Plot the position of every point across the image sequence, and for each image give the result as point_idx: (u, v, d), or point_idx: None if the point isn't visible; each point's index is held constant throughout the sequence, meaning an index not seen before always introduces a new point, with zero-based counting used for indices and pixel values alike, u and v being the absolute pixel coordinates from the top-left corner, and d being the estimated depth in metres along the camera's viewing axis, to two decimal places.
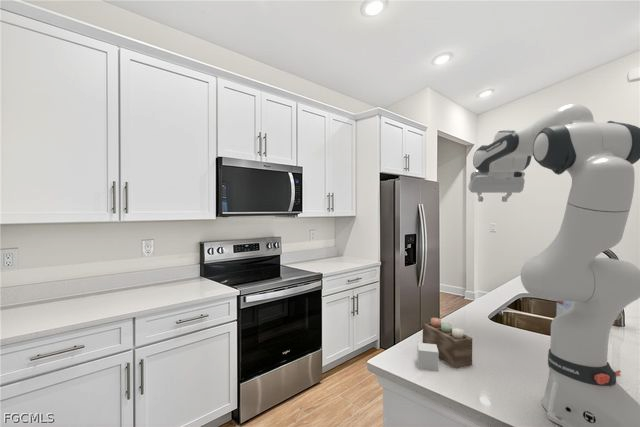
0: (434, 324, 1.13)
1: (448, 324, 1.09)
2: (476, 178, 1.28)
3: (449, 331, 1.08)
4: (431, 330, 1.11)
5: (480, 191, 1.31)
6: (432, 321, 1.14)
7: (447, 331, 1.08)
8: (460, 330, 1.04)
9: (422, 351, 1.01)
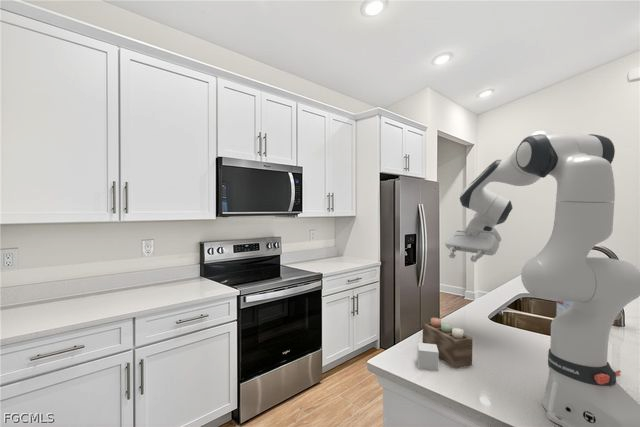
0: (434, 324, 1.13)
1: (448, 324, 1.09)
2: (453, 232, 1.33)
3: (449, 331, 1.08)
4: (431, 330, 1.11)
5: (452, 243, 1.28)
6: (432, 321, 1.14)
7: (447, 331, 1.08)
8: (460, 330, 1.04)
9: (422, 351, 1.01)
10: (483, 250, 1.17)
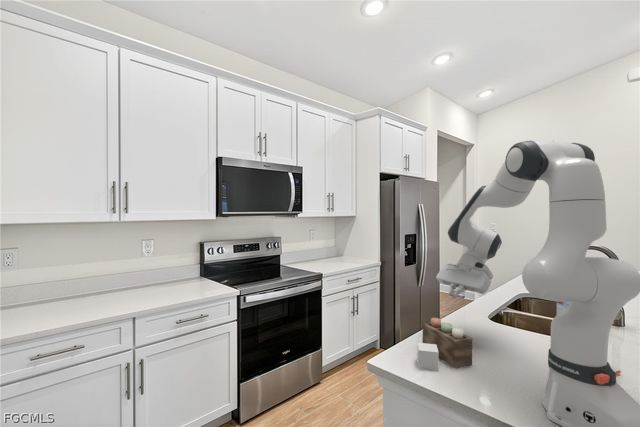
0: (434, 324, 1.13)
1: (448, 324, 1.09)
2: (445, 266, 1.29)
3: (449, 331, 1.08)
4: (431, 330, 1.11)
5: (443, 278, 1.25)
6: (432, 321, 1.14)
7: (447, 331, 1.08)
8: (460, 330, 1.04)
9: (422, 351, 1.01)
10: (474, 288, 1.14)
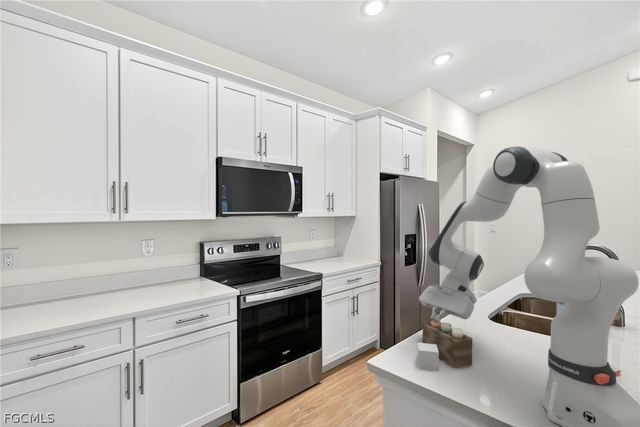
0: (434, 326, 1.13)
1: (448, 324, 1.09)
2: (428, 287, 1.25)
3: (449, 331, 1.08)
4: (431, 330, 1.11)
5: (426, 300, 1.21)
6: (432, 323, 1.14)
7: (447, 331, 1.08)
8: (460, 330, 1.04)
9: (422, 351, 1.01)
10: (456, 313, 1.09)
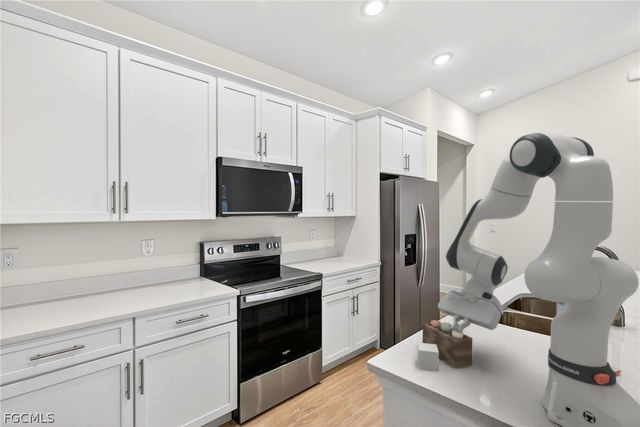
0: (434, 327, 1.13)
1: (448, 324, 1.09)
2: (448, 293, 1.15)
3: (449, 331, 1.08)
4: (431, 330, 1.11)
5: (446, 308, 1.11)
6: (432, 324, 1.14)
7: (447, 331, 1.08)
8: (460, 332, 1.04)
9: (422, 351, 1.01)
10: (481, 323, 1.00)
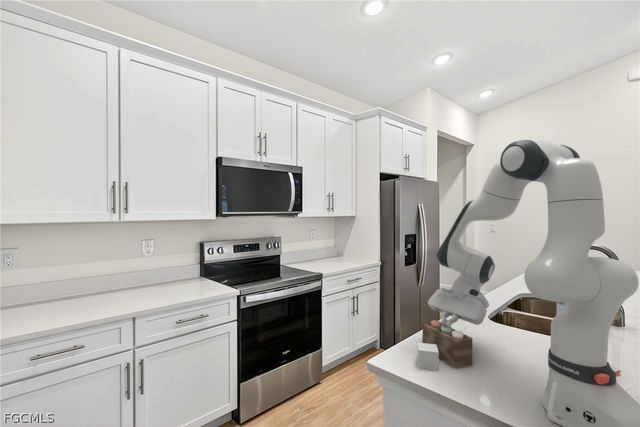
0: (434, 327, 1.13)
1: (448, 327, 1.09)
2: (437, 291, 1.20)
3: None
4: (431, 330, 1.11)
5: (435, 305, 1.16)
6: (432, 324, 1.14)
7: None
8: (460, 333, 1.04)
9: (422, 351, 1.01)
10: (468, 318, 1.04)
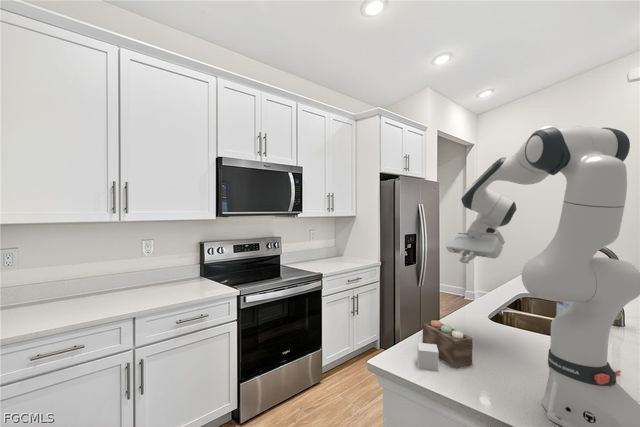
0: (434, 327, 1.13)
1: (448, 327, 1.09)
2: (454, 235, 1.27)
3: None
4: (431, 330, 1.11)
5: (453, 246, 1.23)
6: (432, 324, 1.14)
7: None
8: (460, 333, 1.04)
9: (422, 351, 1.01)
10: (486, 253, 1.12)
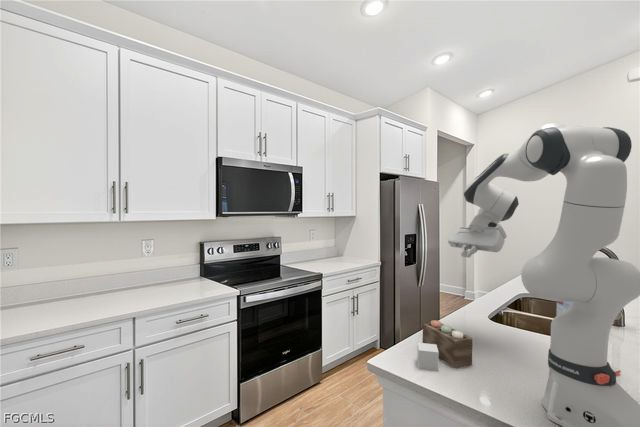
0: (434, 327, 1.13)
1: (448, 327, 1.09)
2: (456, 229, 1.28)
3: None
4: (431, 330, 1.11)
5: (455, 240, 1.24)
6: (432, 324, 1.14)
7: None
8: (460, 333, 1.04)
9: (422, 351, 1.01)
10: (488, 247, 1.13)
